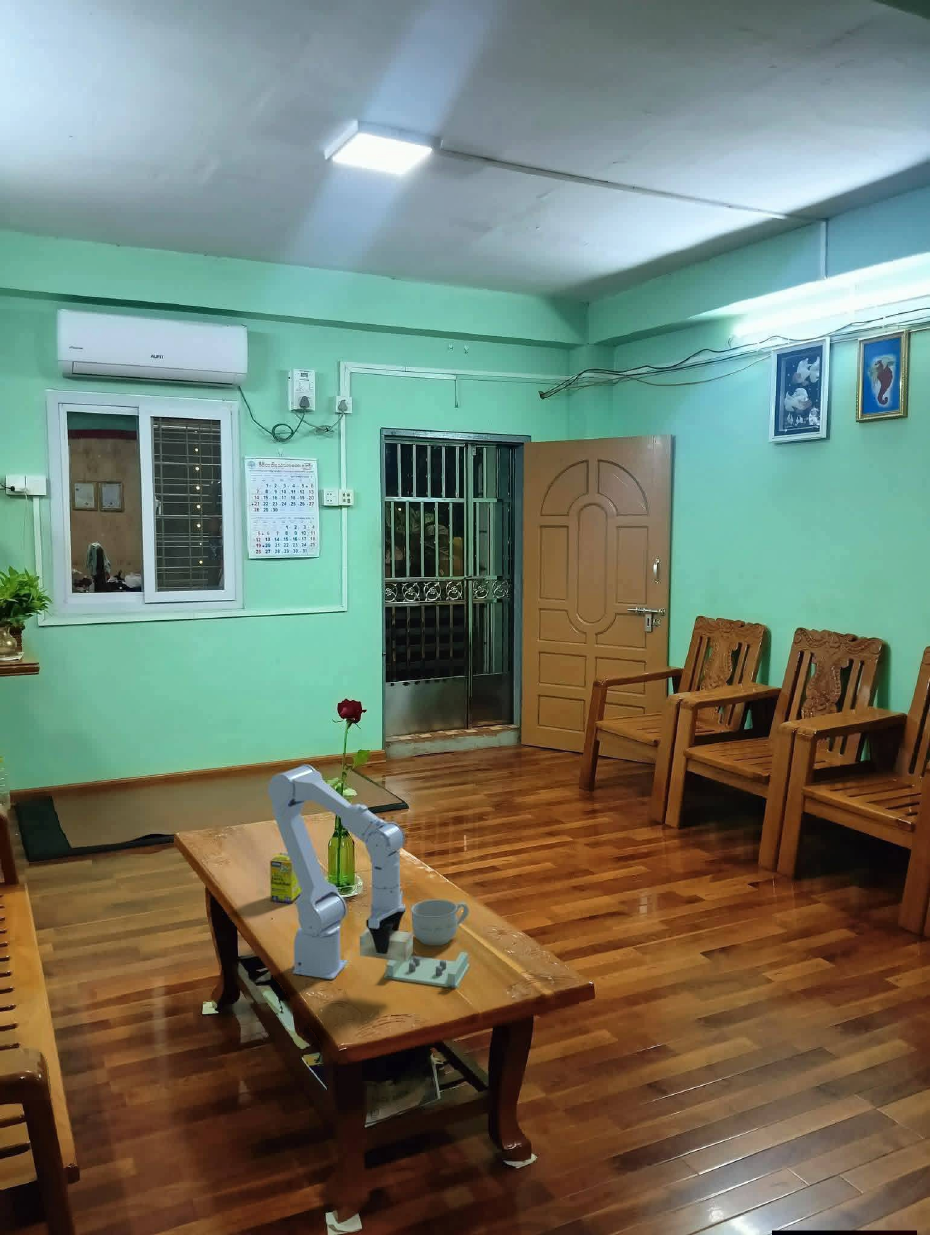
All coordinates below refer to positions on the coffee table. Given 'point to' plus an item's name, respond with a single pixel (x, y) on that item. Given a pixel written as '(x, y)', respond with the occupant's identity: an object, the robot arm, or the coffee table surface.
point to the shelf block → (397, 948)
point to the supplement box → (283, 880)
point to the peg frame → (429, 970)
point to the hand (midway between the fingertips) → (386, 947)
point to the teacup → (436, 920)
